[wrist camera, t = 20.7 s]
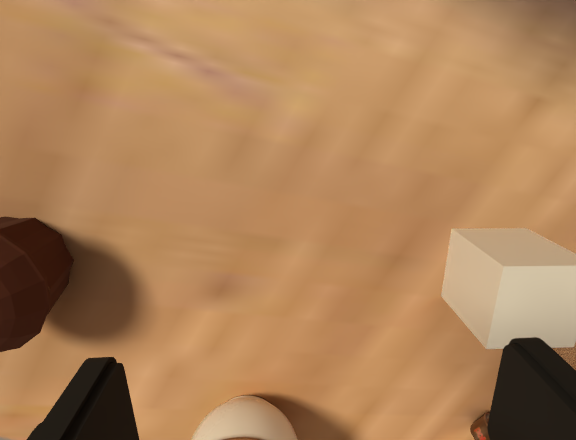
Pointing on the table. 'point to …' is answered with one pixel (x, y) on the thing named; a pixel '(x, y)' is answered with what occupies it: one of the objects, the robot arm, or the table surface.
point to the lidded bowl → (245, 421)
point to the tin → (480, 428)
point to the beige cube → (511, 286)
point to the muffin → (29, 278)
